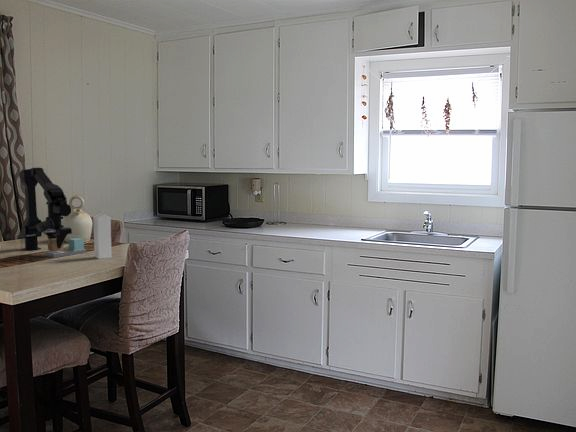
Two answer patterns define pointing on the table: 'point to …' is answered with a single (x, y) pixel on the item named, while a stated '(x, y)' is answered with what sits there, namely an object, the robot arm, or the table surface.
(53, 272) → the table surface
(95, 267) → the table surface
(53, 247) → the walnut block
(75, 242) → the teal block
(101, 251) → the milk
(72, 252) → the baseplate
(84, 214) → the jug
